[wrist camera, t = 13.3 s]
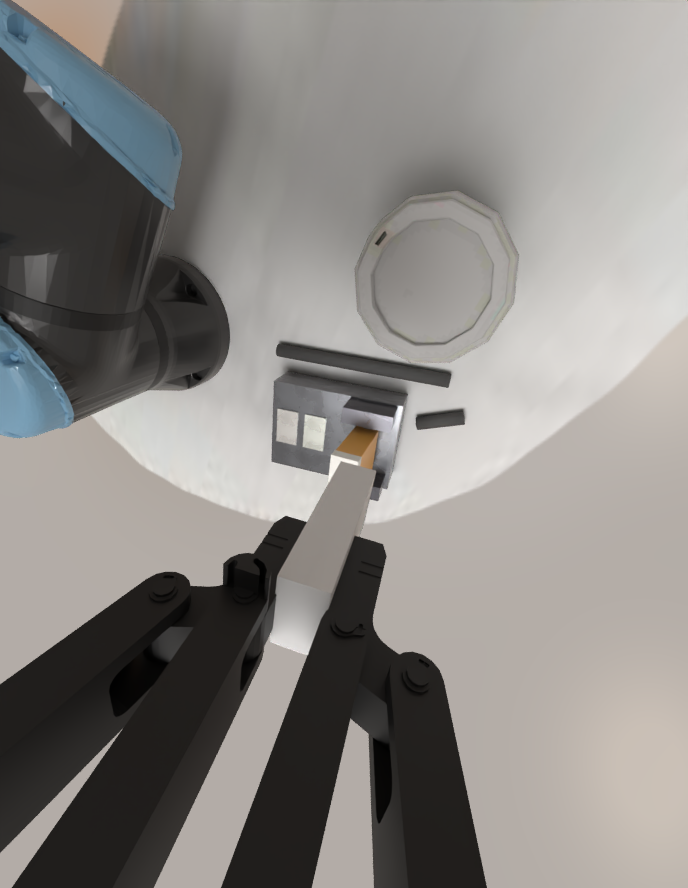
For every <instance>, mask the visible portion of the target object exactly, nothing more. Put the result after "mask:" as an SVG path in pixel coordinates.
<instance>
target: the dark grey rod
mask: <svg viewBox="0 0 688 888" xmlns="http://www.w3.org/2000/svg"><path fill="white" fill-rule="evenodd" d="M276 355H277V356H279V357H285V358H290V359H295V360H301V361H306V362H312V363H317V364H322V365H328V366H333V367H339V368H344V369H349V370H355V371H360V372H366V373H371V374H376V375H382V376H387V377H393V378H398V379H403V380H409V381H414V382H419V383H425V384H430V385H436V386H441V387H446V388H448V387H449V383H450V378H451V374H447V373H441V372H436V371H430V370H424V369H419V368H413V367H408V366H402V365H396V364H391V363H385V362H380V361H374V360H368V359H363V358H357V357H352V356H346V355H341V354H335V353H329V352H324V351H318V350H313V349H307V348H301V347H296V346H290V345H285V344H278V345H277V348H276Z"/></svg>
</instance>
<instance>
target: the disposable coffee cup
mask: <svg viewBox="0 0 688 888" xmlns="http://www.w3.org/2000/svg"><path fill="white" fill-rule="evenodd" d="M518 259H519V254H518V252H517V250H516V248H515V246H514V244H513V242H512V240H511V238H510V236H509V233H508V231H507V229H506V227H505V225H504V223H503V221H502V219H501V217H500V215H499V213H498V212H497V211H495V210H493V209H491V208H489V207H487V206H486V205H484V204H482V203H480V202H478V201H476V200H474V199H473V198H471V197H469V196H467V195H465V194H463V193H462V192H460V191H458V190H456V191H449V192H441V193H433V194H425V195H417V196H411V197H409V198H408V199H407V200H406V201H404V202H403V203H402V204H401V205H399V206H398V207H397V208H396V209H394V210H393V211H392V212H391V213H389V214H388V215H387V216H386V217H384V218H383V219H382V220H381V221H380V222H379V223H378V225H377V226H376V227H375V228H374V230H373V231H372V232H371V234H370V235H369V237H368V239H367V242H366V244H365V246H364V249H363V251H362V253H361V255H360V258H359V260H358V262H357V265H356V267H355V282H356V299H357V311H358V313H359V315H360V316H361V318H362V320H363V321H364V323H365V325H366V326H367V328H368V329H369V331H370V333H371V334H372V336H373V338H374V339H375V341H376V343H377V344H378V345H380V346H381V347H383V348H385V349H387V350H388V351H390V352H392V353H394V354H396V355H397V356H399V357H401V358H403V359H405V360H406V361H408V362H410V363H450V362H452V361H454V360H455V359H457V358H459V357H461V356H463V355H464V354H466V353H468V352H470V351H472V350H474V349H475V348H477V347H479V346H481V345H483V344H485V343H486V342H487V341H489V339H490V338H491V336H492V335H493V333H494V332H495V330H496V329H497V327H498V326H499V324H500V323H501V321H502V320H503V318H504V317H505V315H506V314H507V312H508V311H509V309H510V308H511V306H512V305H513V303H514V298H515V288H516V279H517V269H518Z"/></svg>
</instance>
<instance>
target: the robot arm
mask: <svg viewBox="0 0 688 888" xmlns="http://www.w3.org/2000/svg"><path fill="white" fill-rule="evenodd" d="M181 162H182V148H181V144H180V140H179V138H178V135H177V133H176V131H175V130H174V128H173V127H172V126H171V124H170V123H169V122H168V121H167V120H166V119H165V118H164V117H163V116H162V115H161V114H160V113H159V112H157V111H156V110H155V109H154V108H153V107H151V106H150V105H149V104H148V103H146V102H145V101H144V100H143V99H141V98H140V97H139V96H138V95H136V94H135V93H134V92H133V91H131V90H130V89H129V88H127V87H126V86H125V85H124V84H122V83H121V82H120V81H118V80H117V79H116V78H115V77H113V76H112V75H111V74H109V73H108V72H107V71H105V70H104V69H103V68H102V67H100V66H99V65H97V64H96V63H95V62H93V61H92V60H91V59H90V58H88V57H87V56H86V55H84V54H83V53H82V52H81V51H79V50H78V49H77V48H75V47H74V46H73V45H71V44H70V43H69V42H67V41H66V40H64V39H63V38H62V37H61V36H59V35H58V34H57V33H55V32H54V31H53V30H51V29H50V28H49V27H47V26H46V25H45V24H43V23H42V22H40V21H39V20H38V19H37V18H35V17H34V16H33V15H31V14H30V13H28V12H27V11H26V10H24V9H23V8H22V7H20V6H19V5H17V4H16V3H15V2H13V1H11V0H0V435H3V436H7V437H13V438H22V437H25V438H27V437H32V436H37V435H39V434H42V433H45V432H48V431H51V430H54V429H57V428H66V427H68V426H70V425H71V424H72V423H73V422H76V421H78V420H80V419H83V418H85V417H87V416H89V415H92V414H94V413H96V412H99V411H101V410H103V409H105V408H108V407H110V406H112V405H115V404H117V403H119V402H121V401H124V400H126V399H129V398H131V397H133V396H136V395H138V394H140V393H142V392H145V391H147V390H170V391H179V390H186V389H191V388H194V387H196V386H198V385H200V384H202V383H204V382H206V381H208V380H210V379H211V378H212V377H214V376H215V375H216V374H217V373H218V371H219V370H220V369H221V367H222V366H223V364H224V362H225V359H226V356H227V353H228V349H229V340H230V334H229V324H228V319H227V315H226V312H225V309H224V306H223V304H222V301H221V299H220V297H219V295H218V294H217V292H216V290H215V289H214V287H213V286H212V285H211V283H210V282H209V281H208V280H207V279H206V277H205V276H204V275H203V274H202V273H201V272H199V271H198V270H197V269H196V268H195V267H193V266H192V265H190V264H189V263H187V262H185V261H183V260H181V259H179V258H176V257H172V256H168V255H159V252H160V248H161V245H162V241H163V238H164V234H165V231H166V227H167V224H168V220H169V217H170V213H171V210H174V208H175V202H174V194H175V189H176V185H177V180H178V176H179V171H180V167H181ZM375 475H376V471H375V470H372V469H368V468H364V467H361V466H357V465H353V464H350V463H346V462H342V461H341V462H340V464H339V465H338V467H337V469H336V471H335V473H334V474H333V476H332V478H331V480H330V482H329V483H328V485H327V487H326V489H325V491H324V493H323V494H322V496H321V498H320V500H319V502H318V503H317V505H316V507H315V509H314V511H313V512H312V514H311V516H310V518H309V520H308V521H307V522H304V521H301V520H298V519H295V518H291V517H288V516H285V517H283V518H282V519H280V520H278V521H277V522H275V523H274V524H273V526H272V527H271V529H270V530H269V532H268V534H267V535H266V537H265V538H264V539H263V541H262V543H261V544H260V545H259V547H258V548H257V550H256V551H255V553H254V554H251V553H244V554H238V555H236V556H233V557H231V558H229V559H228V560H227V561H226V562H225V563H224V564H223V585H220V586H214V587H202V586H190V582H189V580H188V579H187V578H186V577H185V576H184V575H182V574H179V573H177V572H163V573H159V574H155V575H154V576H152V577H150V578H148V579H146V580H145V581H143V582H142V583H141V584H139V585H138V586H136V587H135V588H134V589H132V590H131V591H129V592H128V593H127V594H125V595H124V596H122V597H121V598H120V599H118V600H117V601H116V602H114V603H113V604H111V605H110V606H109V607H107V608H106V609H104V610H103V611H102V612H100V613H99V614H98V615H96V616H95V617H93V618H92V619H91V620H89V621H88V622H86V623H85V624H84V625H82V626H81V627H79V628H78V629H77V630H75V631H74V632H72V633H71V634H70V635H68V636H67V637H66V638H64V639H63V640H61V641H60V642H59V643H57V644H56V645H54V646H53V647H52V648H50V649H49V650H47V651H46V652H45V653H43V654H42V655H40V656H39V657H38V658H36V659H35V660H33V661H32V662H31V663H29V664H28V665H27V666H25V667H24V668H23V669H21V670H20V671H18V672H17V673H16V674H14V675H13V676H11V677H10V678H8V679H7V680H6V681H4V682H3V683H2V684H0V852H1V851H2V850H3V849H4V848H5V847H6V846H7V845H8V844H9V843H10V842H11V841H12V840H13V839H14V838H15V837H16V836H17V835H18V834H19V833H20V832H21V831H22V830H23V829H24V828H25V827H26V826H27V825H28V824H29V823H30V822H31V821H32V820H33V819H34V818H35V817H36V816H37V815H38V814H39V813H40V812H41V811H42V810H43V809H44V808H45V807H46V806H47V805H48V804H49V803H50V802H51V801H52V800H53V799H54V798H55V797H56V796H57V795H58V793H59V792H60V791H62V790H63V788H64V787H65V786H66V785H67V784H68V783H69V782H70V781H71V780H72V779H73V778H74V777H75V776H76V775H77V774H78V773H79V772H80V771H81V770H82V769H83V768H84V767H85V766H86V765H87V764H88V763H89V762H90V761H91V760H92V759H93V758H94V757H95V756H96V755H97V754H98V753H99V752H100V751H101V750H102V749H103V748H104V747H105V746H106V745H107V744H108V743H109V742H110V740H112V739H113V738H114V737H115V736H116V735H117V733H119V732H120V730H121V729H122V731H121V732H120V734H119V735H118V737H117V738H116V739H115V741H114V742H113V744H112V745H111V747H110V748H109V749H108V751H107V752H106V754H105V755H104V757H103V758H102V759H101V761H100V763H99V764H98V765H97V767H96V768H95V769H94V771H93V772H92V774H91V775H90V777H89V778H88V780H87V781H86V782H85V784H84V785H83V787H82V788H81V790H80V791H79V792H78V794H77V795H76V797H75V798H74V800H73V801H72V803H71V804H70V805H69V807H68V808H67V810H66V811H65V812H64V814H63V815H62V817H61V818H60V820H59V821H58V822H57V824H56V825H55V827H54V828H53V830H52V831H51V832H50V834H49V835H48V837H47V838H46V840H45V841H44V842H43V844H42V845H41V847H40V848H39V850H38V851H37V853H36V854H35V855H34V857H33V858H32V860H31V861H30V862H29V864H28V865H27V867H26V868H25V870H24V871H23V872H22V874H21V875H20V877H19V878H18V880H17V881H16V882H15V884H14V885H13V887H12V888H154V886H155V884H156V881H157V879H158V877H159V875H160V873H161V871H162V869H163V867H164V864H165V863H166V860H167V858H168V856H169V854H170V852H171V850H172V848H173V846H174V844H175V842H176V839H177V837H178V835H179V833H180V831H181V829H182V827H183V825H184V823H185V820H186V818H187V816H188V814H189V812H190V810H191V808H192V805H193V804H194V801H195V799H196V797H197V795H198V793H199V791H200V789H201V786H202V785H203V783H204V780H205V778H206V776H207V774H208V772H209V770H210V768H211V766H212V764H213V761H214V759H215V757H216V755H217V753H218V751H219V749H220V747H221V745H222V742H223V740H224V738H225V736H226V734H227V732H228V730H229V728H230V726H231V724H232V721H233V719H234V717H235V715H236V713H237V711H238V709H239V707H240V704H241V702H242V700H243V698H244V696H245V694H246V692H247V690H248V688H249V686H250V684H251V681H252V679H253V677H254V675H255V673H256V671H257V669H258V667H259V665H260V662H261V660H262V656H263V652H264V645H265V643H266V641H267V639H268V637H269V635H270V633H271V635H270V642H271V643H274V644H276V645H279V646H282V647H285V648H288V649H291V650H294V651H296V652H299V653H302V654H305V655H307V658H306V661H305V663H304V666H303V669H302V672H301V674H300V677H299V680H298V682H297V685H296V688H295V690H294V693H293V696H292V699H291V701H290V704H289V707H288V709H287V712H286V715H285V717H284V720H283V723H282V725H281V728H280V731H279V733H278V736H277V739H276V741H275V744H274V747H273V750H272V752H271V755H270V758H269V761H268V763H267V766H266V768H265V771H264V774H263V776H262V779H261V782H260V785H259V787H258V790H257V793H256V795H255V798H254V801H253V803H252V806H251V809H250V812H249V814H248V817H247V819H246V822H245V825H244V828H243V830H242V833H241V836H240V838H239V841H238V844H237V846H236V849H235V852H234V855H233V857H232V860H231V863H230V865H229V868H228V870H227V873H226V876H225V879H224V881H223V884H222V887H221V888H312V884H313V879H314V875H315V870H316V866H317V862H318V857H319V853H320V848H321V844H322V840H323V835H324V831H325V826H326V822H327V818H328V813H329V809H330V805H331V800H332V795H333V792H334V787H335V783H336V779H337V774H338V770H339V765H340V761H341V757H342V752H343V748H344V743H345V739H346V735H347V730H348V726H349V722H350V718H351V719H352V720H353V721H354V722H355V723H357V724H358V725H359V726H360V727H362V728H363V729H364V730H365V731H366V732H367V733H368V734H369V757H370V786H371V814H372V841H373V869H374V888H487V886H486V881H485V876H484V872H483V867H482V862H481V857H480V853H479V848H478V843H477V838H476V833H475V829H474V824H473V819H472V814H471V809H470V805H469V800H468V795H467V790H466V786H465V781H464V776H463V771H462V766H461V761H460V757H459V752H458V747H457V742H456V737H455V733H454V728H453V723H452V718H451V713H450V709H449V704H448V699H447V694H446V690H445V685H444V681H443V678H442V675H441V673H440V670H439V669H438V668H437V667H436V666H435V664H434V663H433V662H432V661H431V660H430V659H428V658H427V657H425V656H424V655H422V654H418V653H415V652H405V653H402V654H400V655H399V654H398V653H396V652H395V651H393V650H392V649H390V648H389V647H388V646H387V645H386V644H384V643H383V642H382V641H381V640H380V638H379V637H378V636H377V634H376V632H375V630H374V627H373V613H374V608H375V604H376V600H377V595H378V591H379V587H380V582H381V577H382V573H383V568H384V565H385V559H386V553H385V550H384V546H383V544H380V543H377V542H374V541H371V540H367V539H364V538H361V537H360V533H361V530H362V528H363V525H364V521H365V517H366V513H367V508H368V504H369V500H370V496H371V491H372V487H373V483H374V479H375Z"/></svg>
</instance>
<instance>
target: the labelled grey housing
mask: <svg viewBox="0 0 688 888" xmlns="http://www.w3.org/2000/svg"><path fill="white" fill-rule="evenodd" d="M407 395H408V394H403V393H397V392H392V391H387V390H382V389H376V388H371V387H366V386H361V385H356V384H350V383H345V382H340V381H335V380H330V379H324V378H319V377H314V376H309V375H304V374H298V373H293V372H287V373H285V374H284V375H282V376H281V377H279V378H278V379H276V380H275V381H274V400H273V432H272V462H275V463H279V464H284V465H288V466H292V467H296V468H300V469H305V470H309V471H313V472H317V473H321V474H325V475H329V468H330V459H331V454H332V453H333V452H334V450H336V449H337V448H338V447H339V446H340V444H341V443H342V442H343V441H344V440H345V438H346V437H347V436H348V435H349V434H350V432H351V431H352V430H353V429H354V428H355V426H360V427H364V428H369V429H374V430H376V431H379V432H378V438H377V444H376V450H375V456H374V462H373V468H372V470H375V471H376V475H375V479H374V483H373V487H372V491H371V496H370V499H371V500H375V501H378V500H379V497H380V494H381V491H382V488H384V489H387V488H388V485H389V482H390V478H391V475H392V472H393V467H394V462H395V457H396V451H397V446H398V441H399V436H400V431H401V426H402V421H403V416H404V411H405V405H406V400H407Z"/></svg>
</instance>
